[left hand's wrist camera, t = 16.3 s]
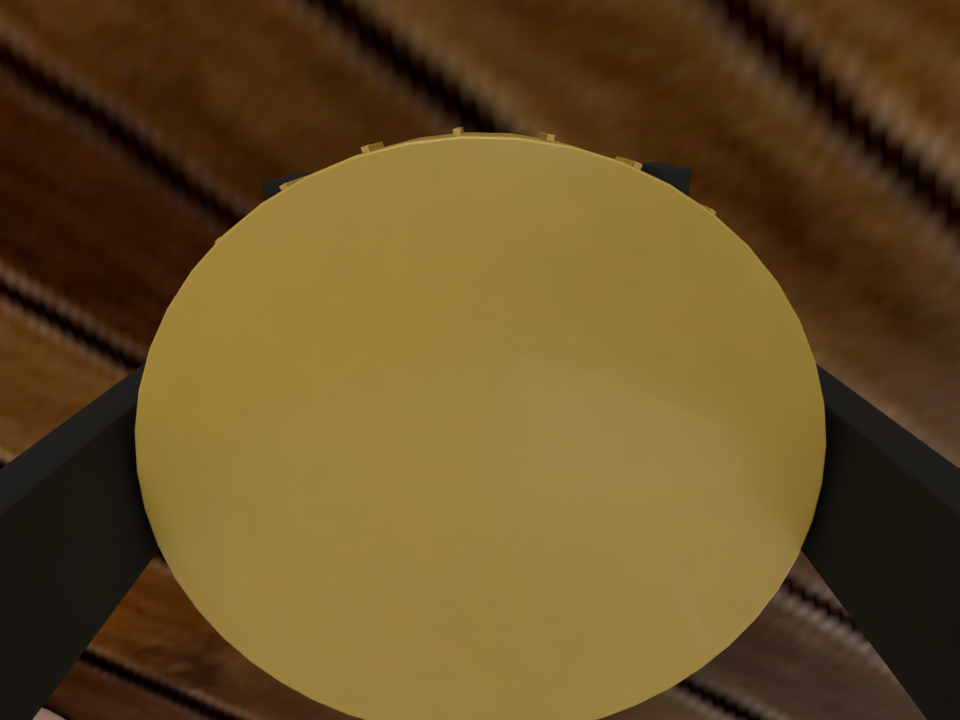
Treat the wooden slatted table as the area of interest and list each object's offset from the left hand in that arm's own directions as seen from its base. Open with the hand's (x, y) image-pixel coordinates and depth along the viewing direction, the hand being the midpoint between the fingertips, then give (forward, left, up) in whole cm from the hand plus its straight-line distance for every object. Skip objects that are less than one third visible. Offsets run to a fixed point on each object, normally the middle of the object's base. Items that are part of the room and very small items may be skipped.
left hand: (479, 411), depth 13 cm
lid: (0, 0, +3) cm, 3 cm away
